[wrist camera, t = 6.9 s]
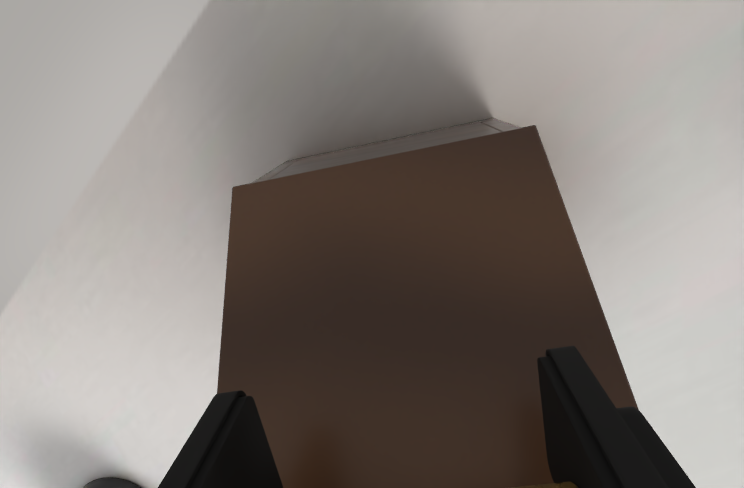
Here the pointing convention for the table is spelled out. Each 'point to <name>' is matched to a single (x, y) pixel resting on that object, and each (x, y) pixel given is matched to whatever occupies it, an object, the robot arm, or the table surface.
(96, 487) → the tape
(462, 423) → the lid
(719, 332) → the table surface
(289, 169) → the chest
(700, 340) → the table surface
